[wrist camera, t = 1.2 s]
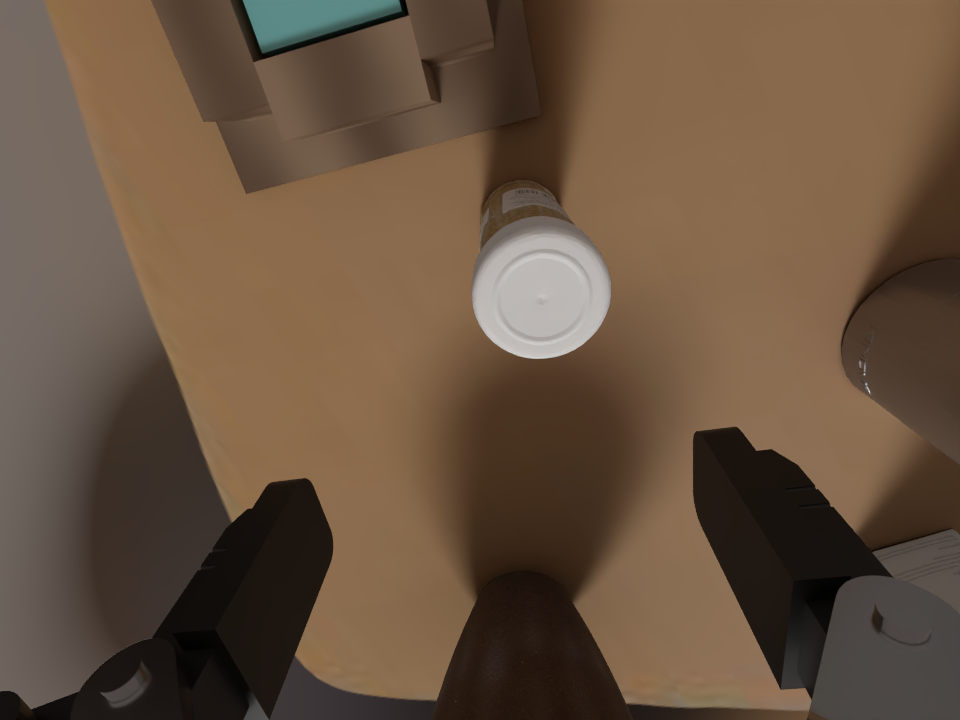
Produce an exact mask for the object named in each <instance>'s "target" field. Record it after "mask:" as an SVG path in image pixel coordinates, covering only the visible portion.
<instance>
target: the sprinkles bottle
mask: <svg viewBox="0 0 960 720" xmlns="http://www.w3.org/2000/svg"><path fill="white" fill-rule="evenodd" d="M480 226H481V229H480V241H479V246H480V253H479V256H478V258H477V260H476V263H475V267H474V271H473V279H472V303H473V308H474V312H475V315H476V318H477V320H478V323H479V325H480V326H481V328H482V329H483V331H484V332H485V334H486V335H487V336H488V337H489V338H490V339H491V340H492V341H493V342H494V343H495V344H496V345H498V346H499V347H501V348H502V349H504V350H506V351H507V352H509V353H512V354H515V355H517V356H521V357H525V358H532V359H544V358H552V357H557V356H561V355H563V354H566V353H569V352H571V351H573V350H575V349H576V348H578V347H580V346H581V345H583V344H584V343H585V342H586V341H587V340H588V339H589V338H591V337H592V336H593V335H594V333H595V332H596V331H597V330H598V328H599V327H600V325H601V324H602V322H603V320H604V318H605V316H606V313H607V311H608V308H609V305H610V298H611V281H610V274H609V271H608V268H607V265H606V263H605V261H604V259H603V257H602V255H601V254H600V252H599V250H598V249H597V247H596V246H595V245H594V243H593V242H592V241H591V239H590V238H589V237H588V236H587V235H586V234H585V233H584V232H583V231H582V230H580V229H579V228H578V227H576V226H575V224H574V223H573V221H572V220H571V219H570V217H569V216H568V215H567V214H566V212H565V211H564V210H563V209H562V208H561V206H560V205H559V204H558V201H557V200H556V198H555V197H554V195H553V194H552V193H551V192H550V191H549V190H548V189H546V188H545V187H544V186H542V185H540V184H539V183H536V182H534V181H528V180H516V181H512V182H508V183H505V184H504V185H502V186H500V187H499V188H497V189H496V190H494V191H493V192H492V193H491V195H490V196H489V198H488V199H487V201H486V202H485V204H484V207H483V210H482V214H481V218H480Z"/></svg>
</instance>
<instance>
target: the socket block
mask: <svg viewBox="0 0 960 720" xmlns="http://www.w3.org/2000/svg"><path fill="white" fill-rule="evenodd" d="M151 1H152V3H153V6H154V8H155V10H156V13H157V15H158V17H159V20H160V22H161V24H162V27H163V29H164V31H165V34H166V36H167V38H168V40H169V43H170V45H171V47H172V50H173V52H174V54H175V57H176V59H177V61H178V64H179V66H180V68H181V71H182V73H183V75H184V78H185V80H186V82H187V85H188V87H189V89H190V92H191V94H192V96H193V98H194V101H195V103H196V105H197V108H198V110H199V112H200V115H201V117H202V119H203V122H216V123H217V125H218V128H219V130H220V132H221V135H222V137H223V140H224V142H225V144H226V147H227V149H228V151H229V154H230V156H231V159H232V161H233V163H234V166H235V168H236V170H237V173H238V175H239V178H240V180H241V182H242V185H243V187H244V189H245V192H246V194H247V193H251V192H255V191H259V190H263V189H266V188H270V187H274V186H278V185H281V184H285V183H289V182H293V181H296V180H300V179H304V178H308V177H311V176H315V175H319V174H323V173H326V172H330V171H334V170H338V169H341V168H345V167H349V166H353V165H356V164H360V163H364V162H368V161H372V160H375V159H379V158H383V157H387V156H390V155H394V154H398V153H402V152H405V151H409V150H413V149H417V148H420V147H424V146H428V145H432V144H435V143H439V142H443V141H447V140H450V139H454V138H458V137H462V136H465V135H469V134H473V133H477V132H481V131H484V130H488V129H492V128H496V127H499V126H503V125H507V124H511V123H514V122H518V121H522V120H526V119H529V118H533V117H537V116H541V115H542V113H541V107H540V101H539V95H538V90H537V84H536V78H535V72H534V66H533V60H532V55H531V49H530V43H529V37H528V31H527V25H526V20H525V14H524V8H523V2H522V0H402V3H403V7H404V10H405V14H406V16H403V17H400V18H397V19H393V20H390V21H387V22H383V23H380V24H377V25H373V26H370V27H367V28H363V29H360V30H357V31H353V32H350V33H347V34H344V35H340V36H337V37H334V38H330V39H327V40H324V41H320V42H317V43H314V44H310V45H307V46H304V47H300V48H297V49H294V50H290V51H287V52H284V53H280V54H277V55H274V56H270V55H266V54H263V53H262V51H261V48H260V46H259V43H258V40H257V38H256V35H255V32H254V29H253V27H252V24H251V21H250V19H249V16H248V13H247V10H246V8H245V5H244V2H243V0H151Z"/></svg>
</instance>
